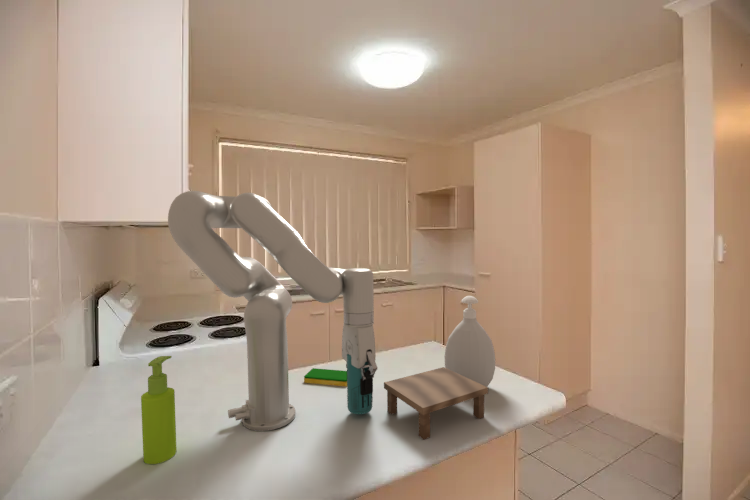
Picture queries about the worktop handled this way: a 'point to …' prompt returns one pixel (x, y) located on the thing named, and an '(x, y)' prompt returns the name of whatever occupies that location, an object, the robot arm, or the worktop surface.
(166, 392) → the soap dispenser
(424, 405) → the footstool
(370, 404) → the beverage bottle
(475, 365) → the soap bottle
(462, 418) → the worktop surface
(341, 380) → the dish sponge
